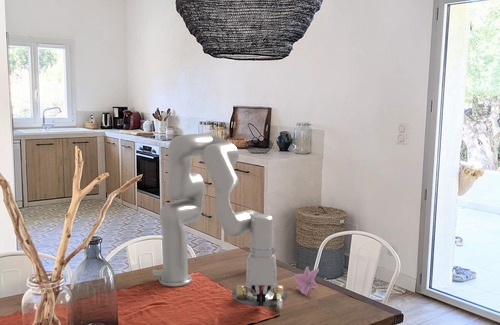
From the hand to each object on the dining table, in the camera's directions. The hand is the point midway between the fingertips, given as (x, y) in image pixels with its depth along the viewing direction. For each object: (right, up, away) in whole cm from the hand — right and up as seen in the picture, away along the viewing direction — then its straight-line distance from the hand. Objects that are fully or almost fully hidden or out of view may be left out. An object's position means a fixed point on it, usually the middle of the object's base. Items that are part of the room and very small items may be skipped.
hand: (261, 303), depth 168 cm
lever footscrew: (+6, -1, +4) cm, 7 cm away
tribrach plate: (0, -1, +12) cm, 12 cm away
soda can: (0, 0, +12) cm, 12 cm away
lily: (+17, -1, +17) cm, 24 cm away
